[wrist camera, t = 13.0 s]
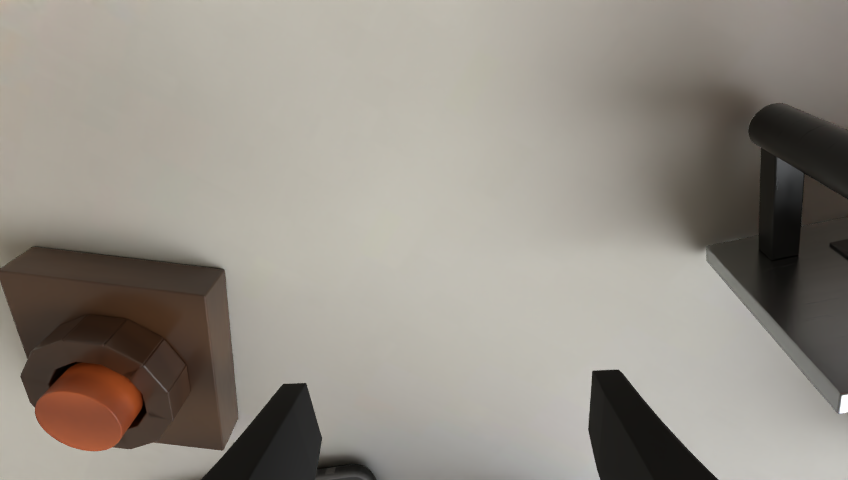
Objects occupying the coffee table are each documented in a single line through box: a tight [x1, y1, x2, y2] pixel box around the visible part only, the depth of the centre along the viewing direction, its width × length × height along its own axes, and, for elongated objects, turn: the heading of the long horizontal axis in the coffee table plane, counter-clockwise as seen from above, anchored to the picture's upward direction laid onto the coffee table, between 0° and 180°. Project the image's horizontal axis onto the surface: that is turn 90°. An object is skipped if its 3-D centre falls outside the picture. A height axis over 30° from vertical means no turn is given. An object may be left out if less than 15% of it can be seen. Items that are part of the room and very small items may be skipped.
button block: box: [0, 247, 238, 450], centre depth 24 cm, size 10×9×4 cm
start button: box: [35, 363, 143, 451], centre depth 22 cm, size 4×4×2 cm
